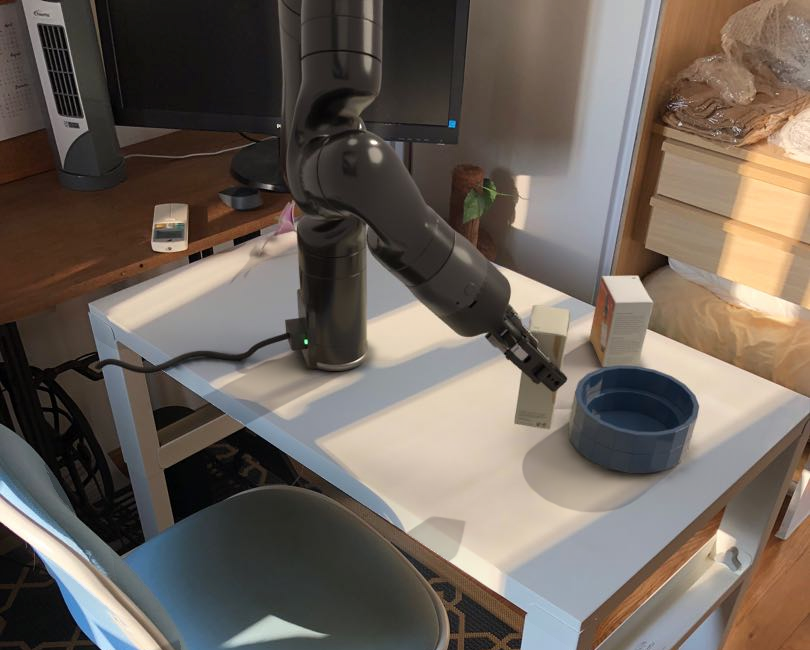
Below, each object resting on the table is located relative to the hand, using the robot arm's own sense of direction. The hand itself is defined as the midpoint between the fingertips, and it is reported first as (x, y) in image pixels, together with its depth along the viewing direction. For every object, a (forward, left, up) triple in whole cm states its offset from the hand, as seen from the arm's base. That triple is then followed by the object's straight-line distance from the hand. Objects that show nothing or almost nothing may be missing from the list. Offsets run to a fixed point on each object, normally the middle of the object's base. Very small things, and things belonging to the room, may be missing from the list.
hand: (545, 365), depth 102 cm
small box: (+24, +24, -16) cm, 37 cm away
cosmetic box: (0, 0, -7) cm, 7 cm away
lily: (-16, +70, -16) cm, 74 cm away
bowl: (+16, +4, -16) cm, 23 cm away
